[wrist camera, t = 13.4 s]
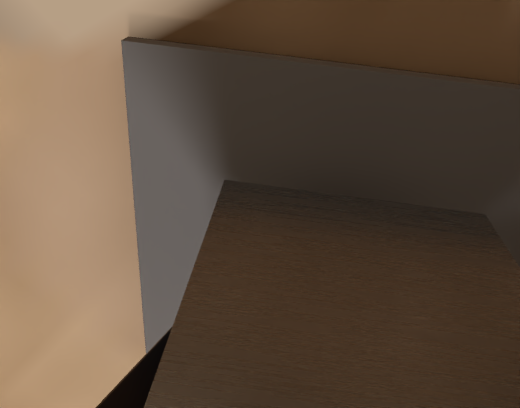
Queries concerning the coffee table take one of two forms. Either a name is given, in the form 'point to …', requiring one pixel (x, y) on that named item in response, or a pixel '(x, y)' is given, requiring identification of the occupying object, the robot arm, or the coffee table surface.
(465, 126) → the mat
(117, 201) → the coffee table surface
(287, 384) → the cap block
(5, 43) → the coffee table surface
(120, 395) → the robot arm
